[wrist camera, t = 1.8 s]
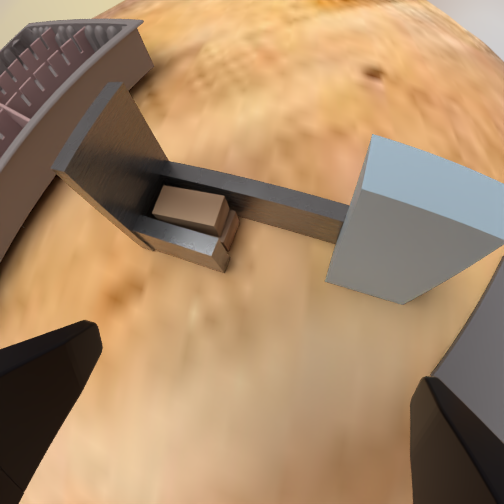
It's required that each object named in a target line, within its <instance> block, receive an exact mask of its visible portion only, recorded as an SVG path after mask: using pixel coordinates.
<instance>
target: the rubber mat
mask: <svg viewBox="0 0 504 504" xmlns="http://www.w3.org/2000/svg"><path fill="white" fill-rule="evenodd" d="M431 376H432V377H438V378H439V379H440V380H441V381H442V382H443V383H444V384H445V385H446V386H447V387H448V388H449V389H450V390H451V391H452V392H453V393H454V394H455V395H456V396H457V397H458V398H460V399H461V400H462V401H463V402H464V403H465V404H466V405H467V406H468V407H469V408H470V409H471V410H472V411H473V412H474V413H475V414H476V415H477V416H478V417H479V418H480V419H481V420H482V422H483V423H484V424H485V425H486V426H487V427H488V428H489V429H490V430H491V431H492V432H493V433H494V434H495V435H496V436H497V437H498V438H499V439H500V440H501V441H502V442H503V443H504V256H503V257H502V259H501V261H500V263H499V265H498V267H497V269H496V271H495V273H494V275H493V277H492V279H491V281H490V283H489V285H488V286H487V288H486V290H485V292H484V294H483V295H482V297H481V299H480V301H479V302H478V304H477V306H476V308H475V309H474V311H473V313H472V314H471V316H470V318H469V319H468V321H467V322H466V324H465V326H464V327H463V329H462V330H461V332H460V333H459V335H458V336H457V338H456V339H455V341H454V342H453V344H452V345H451V347H450V348H449V350H448V351H447V353H446V354H445V355H444V357H443V358H442V360H441V361H440V362H439V364H438V365H437V367H436V368H435V369H434V371H433V372H432V373H431Z"/></svg>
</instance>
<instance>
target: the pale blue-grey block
mask: <svg viewBox="0 0 504 504" xmlns="http://www.w3.org/2000/svg"><path fill="white" fill-rule="evenodd" d="M503 244H504V184H503V183H501V182H499V181H496V180H494V179H492V178H490V177H488V176H485V175H483V174H481V173H479V172H476V171H474V170H472V169H469V168H467V167H464V166H462V165H460V164H457V163H455V162H452V161H449V160H447V159H444V158H442V157H439V156H436V155H434V154H431V153H428V152H426V151H423V150H420V149H417V148H414V147H411V146H408V145H405V144H402V143H399V142H396V141H393V140H390V139H387V138H383V137H380V136H377V135H374V134H372V137H371V141H370V144H369V147H368V151H367V154H366V157H365V160H364V163H363V167H362V170H361V173H360V176H359V179H358V182H357V185H356V188H355V191H354V194H353V197H352V200H351V203H350V206H349V209H348V212H347V215H346V218H345V220H344V223H343V226H342V229H341V232H340V234H339V237H338V240H337V243H336V245H335V248H334V251H333V255H332V258H331V262H330V265H329V269H328V272H327V276H326V279H325V282H328V283H332V284H335V285H338V286H342V287H345V288H348V289H352V290H355V291H358V292H362V293H365V294H368V295H372V296H375V297H378V298H381V299H385V300H388V301H392V302H395V303H398V304H402V305H403V304H405V303H407V302H409V301H411V300H413V299H414V298H416V297H418V296H420V295H422V294H423V293H425V292H427V291H429V290H431V289H432V288H434V287H436V286H438V285H439V284H441V283H443V282H445V281H446V280H448V279H450V278H451V277H453V276H455V275H456V274H458V273H460V272H461V271H463V270H465V269H466V268H468V267H470V266H471V265H473V264H474V263H476V262H477V261H479V260H481V259H482V258H484V257H485V256H487V255H488V254H490V253H491V252H493V251H495V250H496V249H498V248H499V247H501V246H502V245H503Z"/></svg>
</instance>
